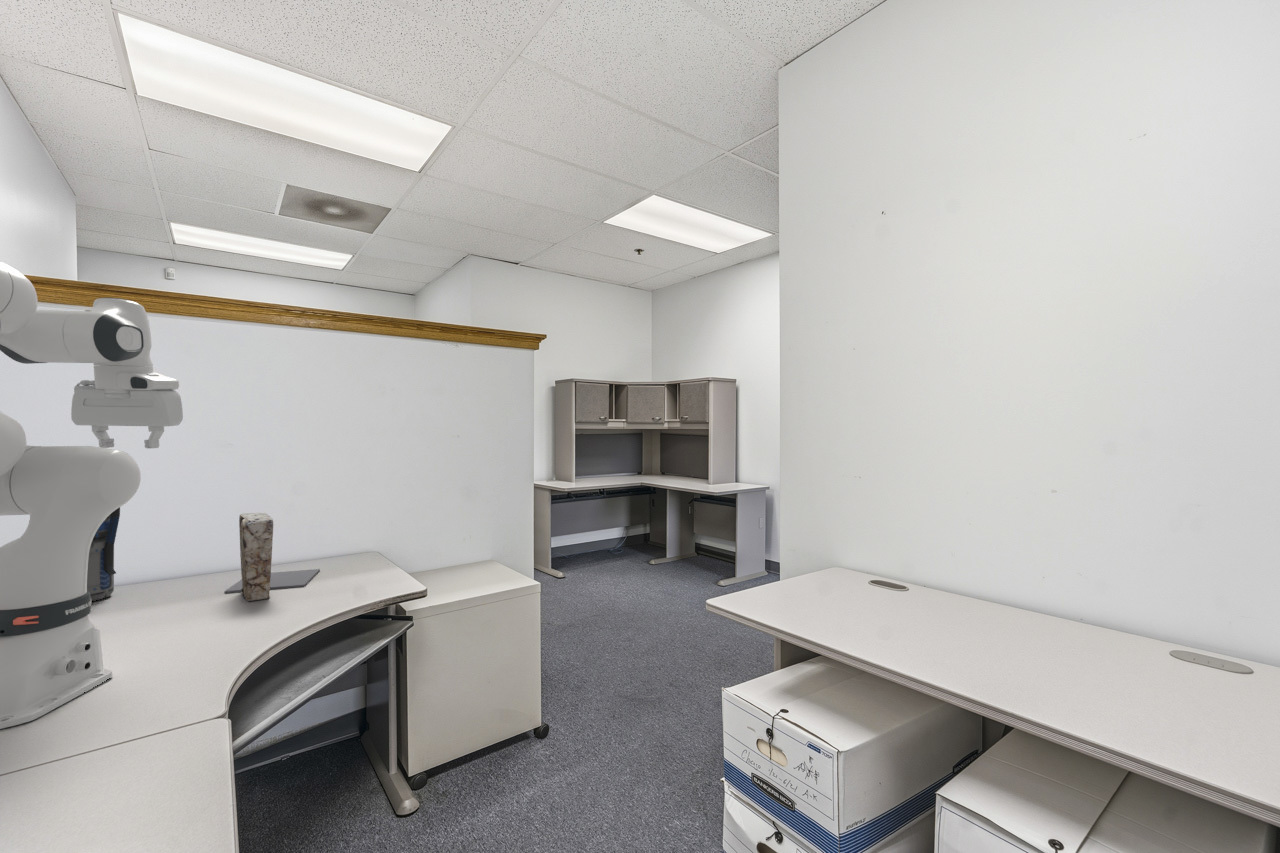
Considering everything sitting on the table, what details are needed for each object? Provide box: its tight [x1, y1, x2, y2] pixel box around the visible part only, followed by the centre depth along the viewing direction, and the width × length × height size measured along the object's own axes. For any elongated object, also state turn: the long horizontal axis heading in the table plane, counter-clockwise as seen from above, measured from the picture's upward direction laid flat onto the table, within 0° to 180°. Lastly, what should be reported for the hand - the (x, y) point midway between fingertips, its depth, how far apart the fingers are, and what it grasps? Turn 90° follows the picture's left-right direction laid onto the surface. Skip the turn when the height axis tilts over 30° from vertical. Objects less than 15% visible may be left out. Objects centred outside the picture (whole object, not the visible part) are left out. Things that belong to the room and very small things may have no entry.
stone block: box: [238, 512, 274, 602], centre depth 139 cm, size 13×7×20 cm, turn 47°
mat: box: [223, 568, 321, 594], centre depth 152 cm, size 18×18×1 cm
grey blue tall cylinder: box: [87, 507, 121, 603], centre depth 136 cm, size 10×13×25 cm
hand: (129, 447), depth 113 cm, fingers open, 8 cm apart
